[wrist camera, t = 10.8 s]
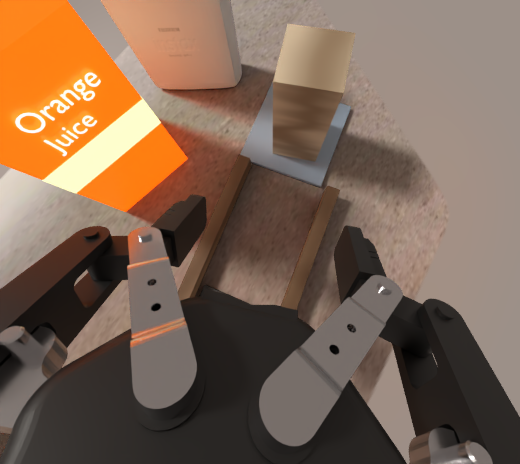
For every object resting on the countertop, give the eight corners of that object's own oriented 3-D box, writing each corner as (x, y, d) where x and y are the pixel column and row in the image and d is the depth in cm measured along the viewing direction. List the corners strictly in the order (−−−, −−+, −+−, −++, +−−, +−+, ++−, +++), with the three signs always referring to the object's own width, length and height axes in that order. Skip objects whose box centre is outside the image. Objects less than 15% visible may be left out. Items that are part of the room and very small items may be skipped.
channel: (173, 316, 21) (165, 320, 20) (241, 161, 23) (238, 154, 22) (273, 362, 20) (274, 370, 19) (335, 195, 22) (340, 189, 21)
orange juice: (85, 163, 24) (-692, -271, 5) (146, 113, 25) (-313, -455, 5) (126, 213, 23) (-689, -91, 4) (189, 159, 24) (-200, -358, 4)
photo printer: (153, 93, 25) (44, -67, 13) (157, 61, 26) (57, -119, 14) (241, 92, 25) (212, -76, 13) (243, 59, 26) (217, -130, 13)
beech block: (272, 153, 23) (273, 81, 14) (281, 115, 24) (287, 23, 15) (315, 161, 23) (343, 93, 14) (323, 122, 23) (355, 33, 14)
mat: (239, 158, 24) (239, 157, 23) (272, 85, 25) (272, 82, 24) (320, 187, 23) (320, 186, 22) (349, 109, 24) (351, 106, 23)
